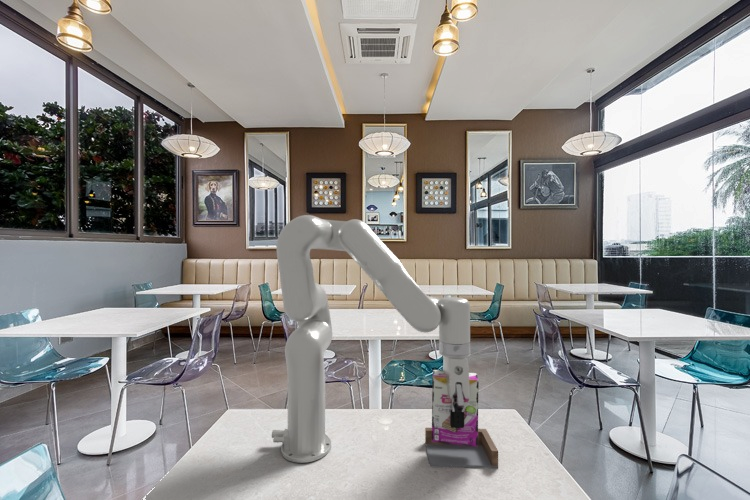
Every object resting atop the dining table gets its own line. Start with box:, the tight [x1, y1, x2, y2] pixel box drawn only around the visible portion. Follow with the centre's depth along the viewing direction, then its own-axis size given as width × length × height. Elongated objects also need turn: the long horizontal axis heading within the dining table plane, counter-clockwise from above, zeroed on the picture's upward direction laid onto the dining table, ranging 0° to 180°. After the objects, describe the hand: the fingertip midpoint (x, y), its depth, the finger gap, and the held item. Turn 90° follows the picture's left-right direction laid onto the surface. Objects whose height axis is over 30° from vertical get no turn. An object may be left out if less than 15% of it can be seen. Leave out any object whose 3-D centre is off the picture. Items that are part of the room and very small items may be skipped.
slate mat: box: [425, 444, 499, 469], centre depth 86 cm, size 16×10×1 cm, turn 88°
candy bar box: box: [431, 369, 480, 447], centre depth 85 cm, size 11×5×16 cm, turn 79°
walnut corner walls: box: [424, 427, 499, 467], centre depth 86 cm, size 16×10×4 cm, turn 88°
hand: (454, 419), depth 85 cm, fingers closed on candy bar box, 5 cm apart
